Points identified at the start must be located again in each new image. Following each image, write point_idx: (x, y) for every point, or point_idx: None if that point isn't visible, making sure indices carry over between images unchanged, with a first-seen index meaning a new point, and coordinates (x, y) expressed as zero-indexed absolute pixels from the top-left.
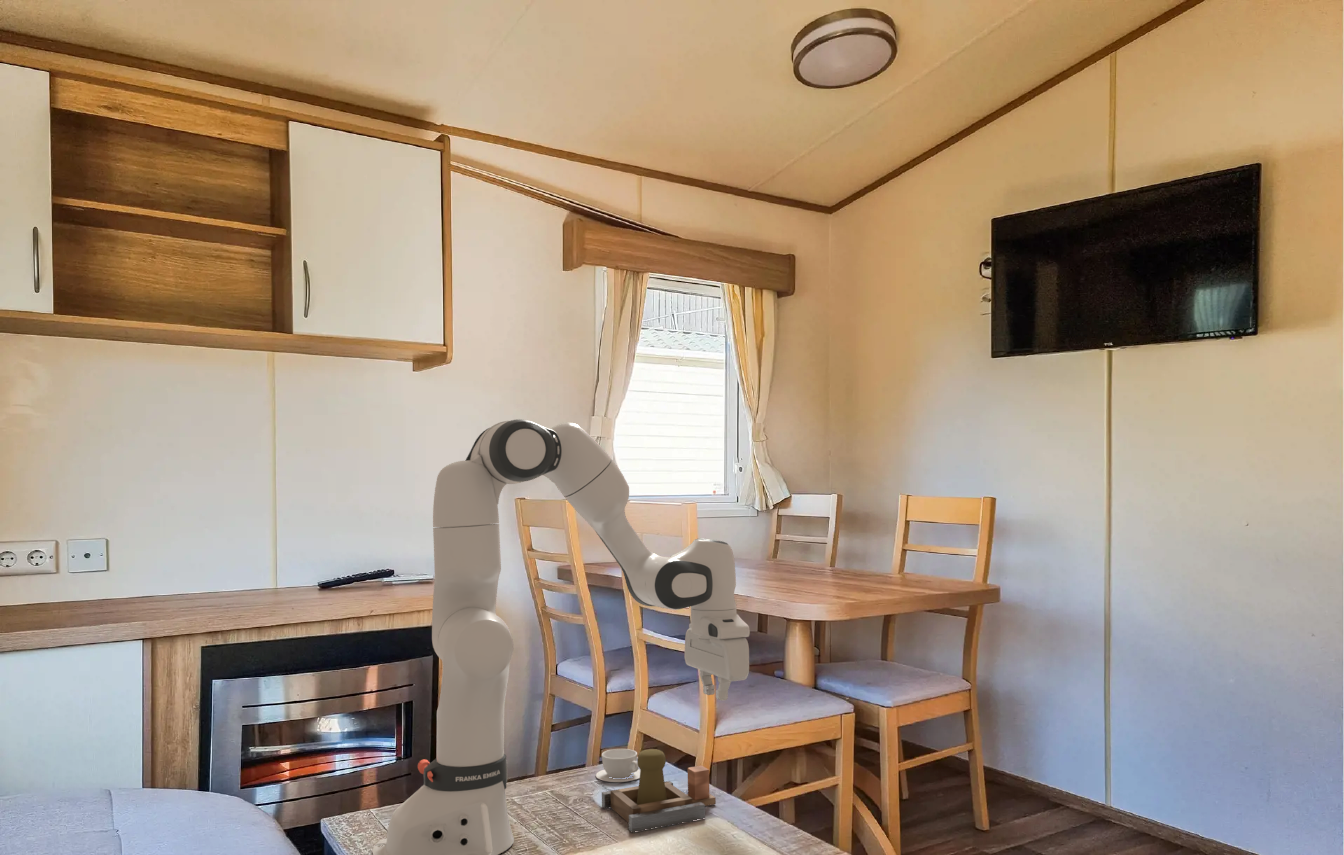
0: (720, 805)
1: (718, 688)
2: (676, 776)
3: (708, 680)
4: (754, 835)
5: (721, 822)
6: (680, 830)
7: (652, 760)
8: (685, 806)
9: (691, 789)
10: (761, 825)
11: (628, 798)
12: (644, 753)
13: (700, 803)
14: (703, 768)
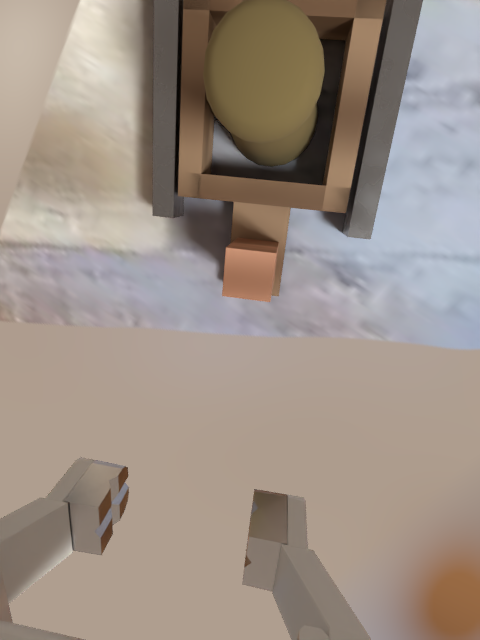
0: None
1: (42, 513)
2: (474, 326)
3: (292, 609)
4: (43, 250)
5: (133, 235)
6: (130, 121)
7: (208, 44)
8: (164, 163)
9: (255, 242)
10: (84, 294)
11: None
12: (251, 13)
13: (165, 211)
14: (241, 289)
